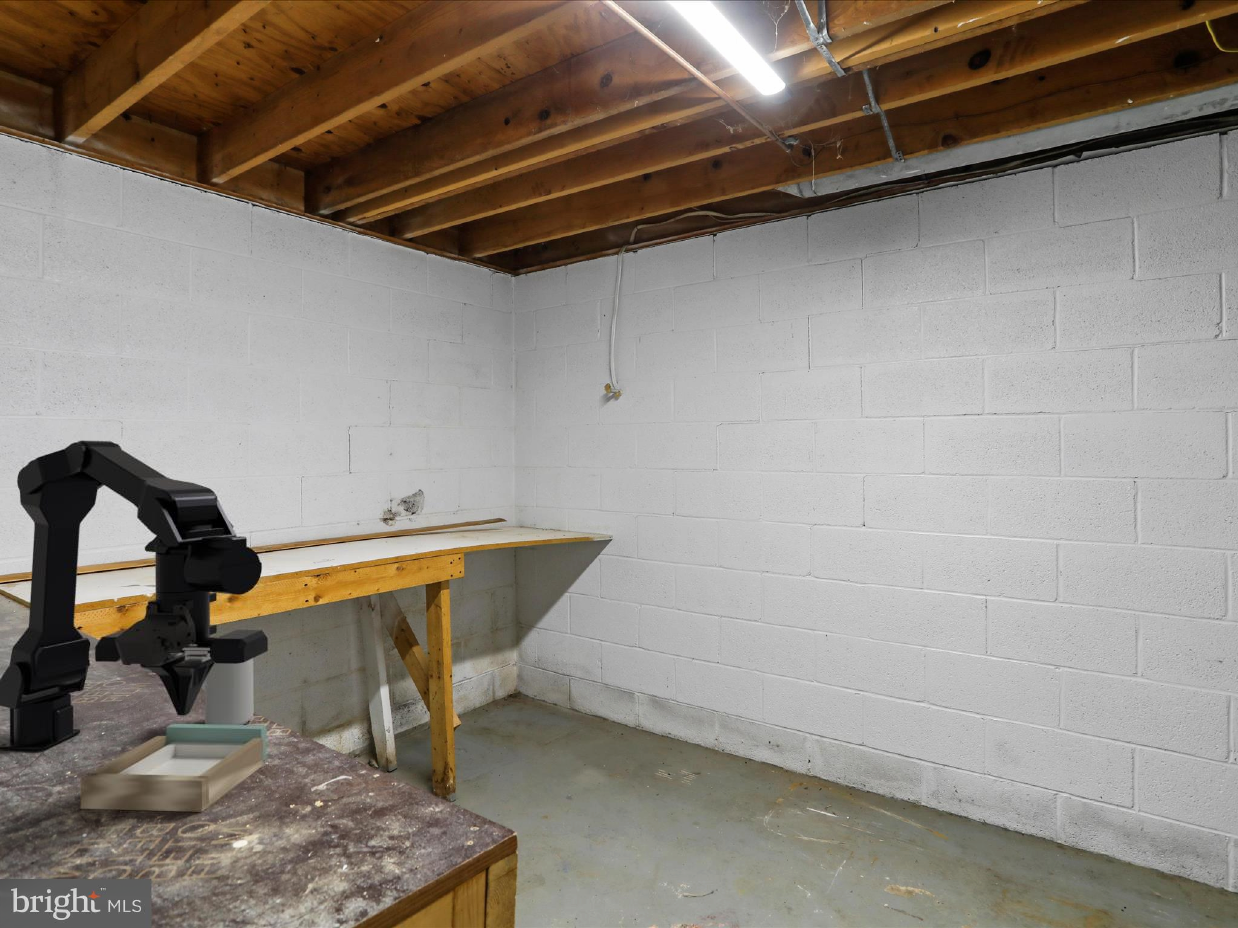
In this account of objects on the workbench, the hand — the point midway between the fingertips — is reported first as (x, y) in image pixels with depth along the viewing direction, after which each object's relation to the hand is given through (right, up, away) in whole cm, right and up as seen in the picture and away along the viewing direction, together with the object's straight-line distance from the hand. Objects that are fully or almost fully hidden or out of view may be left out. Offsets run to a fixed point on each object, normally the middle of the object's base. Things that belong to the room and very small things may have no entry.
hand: (183, 714), depth 86 cm
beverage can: (-5, -8, +19) cm, 21 cm away
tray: (0, -8, 0) cm, 8 cm away
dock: (0, -8, -1) cm, 8 cm away
